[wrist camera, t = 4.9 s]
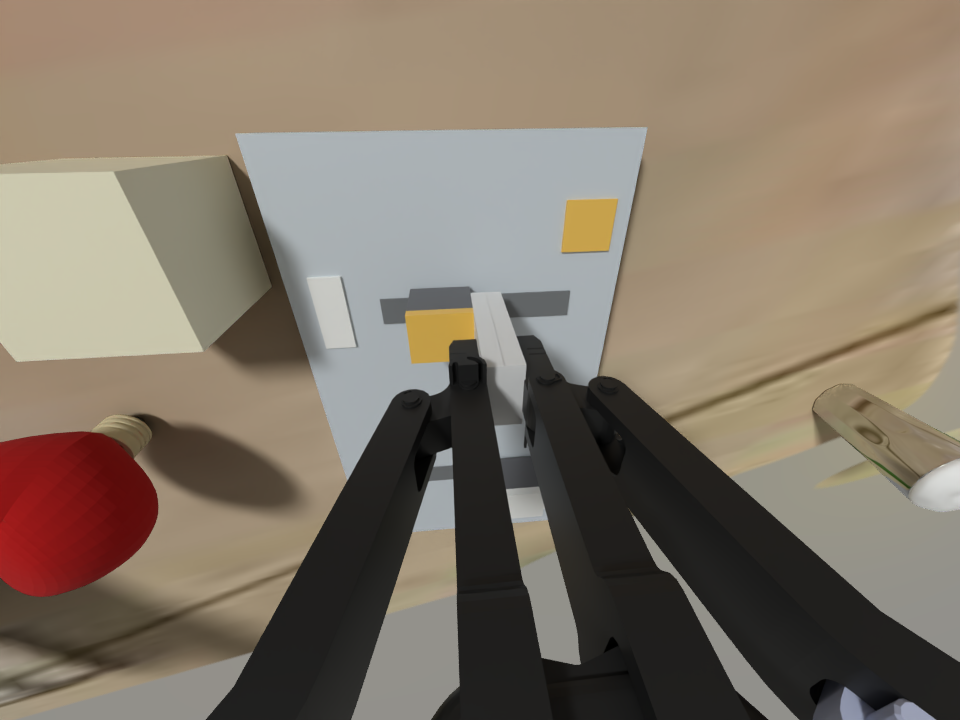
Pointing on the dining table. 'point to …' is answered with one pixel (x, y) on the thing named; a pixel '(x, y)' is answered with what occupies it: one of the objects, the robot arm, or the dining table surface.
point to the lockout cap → (123, 256)
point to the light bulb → (73, 505)
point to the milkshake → (896, 445)
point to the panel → (441, 255)
